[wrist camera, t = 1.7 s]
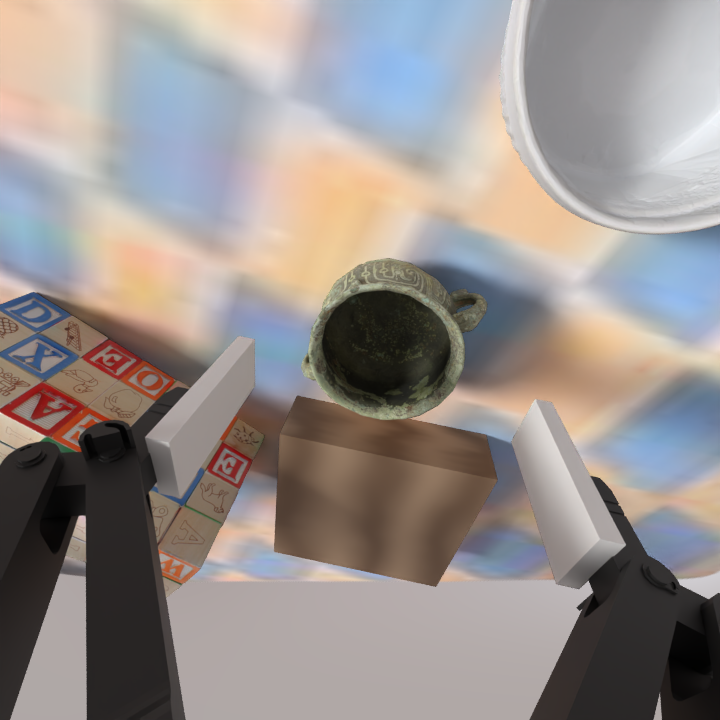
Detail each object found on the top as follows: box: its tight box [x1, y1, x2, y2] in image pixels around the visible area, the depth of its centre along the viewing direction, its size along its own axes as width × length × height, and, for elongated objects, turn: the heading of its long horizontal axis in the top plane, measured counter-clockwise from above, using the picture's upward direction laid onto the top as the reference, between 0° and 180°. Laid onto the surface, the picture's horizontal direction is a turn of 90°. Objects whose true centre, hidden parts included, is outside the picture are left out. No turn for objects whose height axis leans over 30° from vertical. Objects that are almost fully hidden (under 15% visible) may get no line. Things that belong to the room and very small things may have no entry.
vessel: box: [301, 258, 487, 420], centre depth 21 cm, size 12×9×6 cm
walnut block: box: [274, 396, 498, 587], centre depth 31 cm, size 16×16×5 cm
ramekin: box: [499, 0, 720, 234], centre depth 13 cm, size 13×13×7 cm
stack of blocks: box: [0, 292, 265, 598], centre depth 26 cm, size 21×6×12 cm, turn 51°
